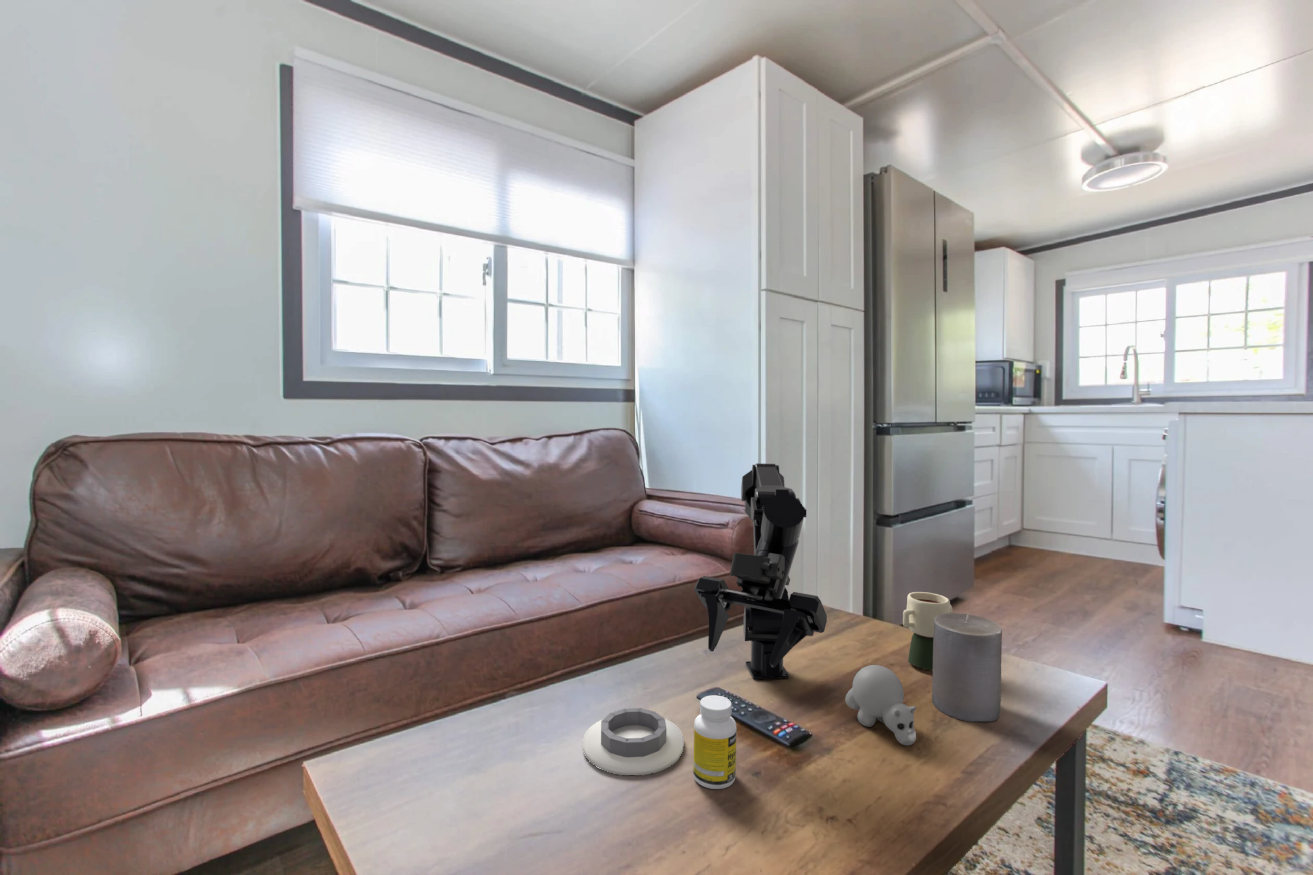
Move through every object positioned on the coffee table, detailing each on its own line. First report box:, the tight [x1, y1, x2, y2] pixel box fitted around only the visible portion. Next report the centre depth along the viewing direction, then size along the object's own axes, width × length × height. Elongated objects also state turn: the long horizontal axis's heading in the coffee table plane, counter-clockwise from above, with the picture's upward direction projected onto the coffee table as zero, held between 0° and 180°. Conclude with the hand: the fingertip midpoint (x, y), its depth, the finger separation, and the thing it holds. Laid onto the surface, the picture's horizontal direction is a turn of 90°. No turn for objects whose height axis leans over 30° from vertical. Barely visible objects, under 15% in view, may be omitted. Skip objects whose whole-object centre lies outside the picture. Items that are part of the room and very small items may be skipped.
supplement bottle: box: [692, 694, 738, 790], centre depth 75 cm, size 5×5×10 cm
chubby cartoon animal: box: [844, 664, 917, 747], centre depth 87 cm, size 7×12×8 cm, turn 17°
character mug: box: [902, 591, 953, 672], centre depth 109 cm, size 11×7×13 cm, turn 109°
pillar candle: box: [931, 612, 1003, 723], centre depth 94 cm, size 10×10×15 cm
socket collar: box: [582, 707, 685, 776], centre depth 83 cm, size 14×14×3 cm
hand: (740, 657), depth 81 cm, fingers open, 9 cm apart
